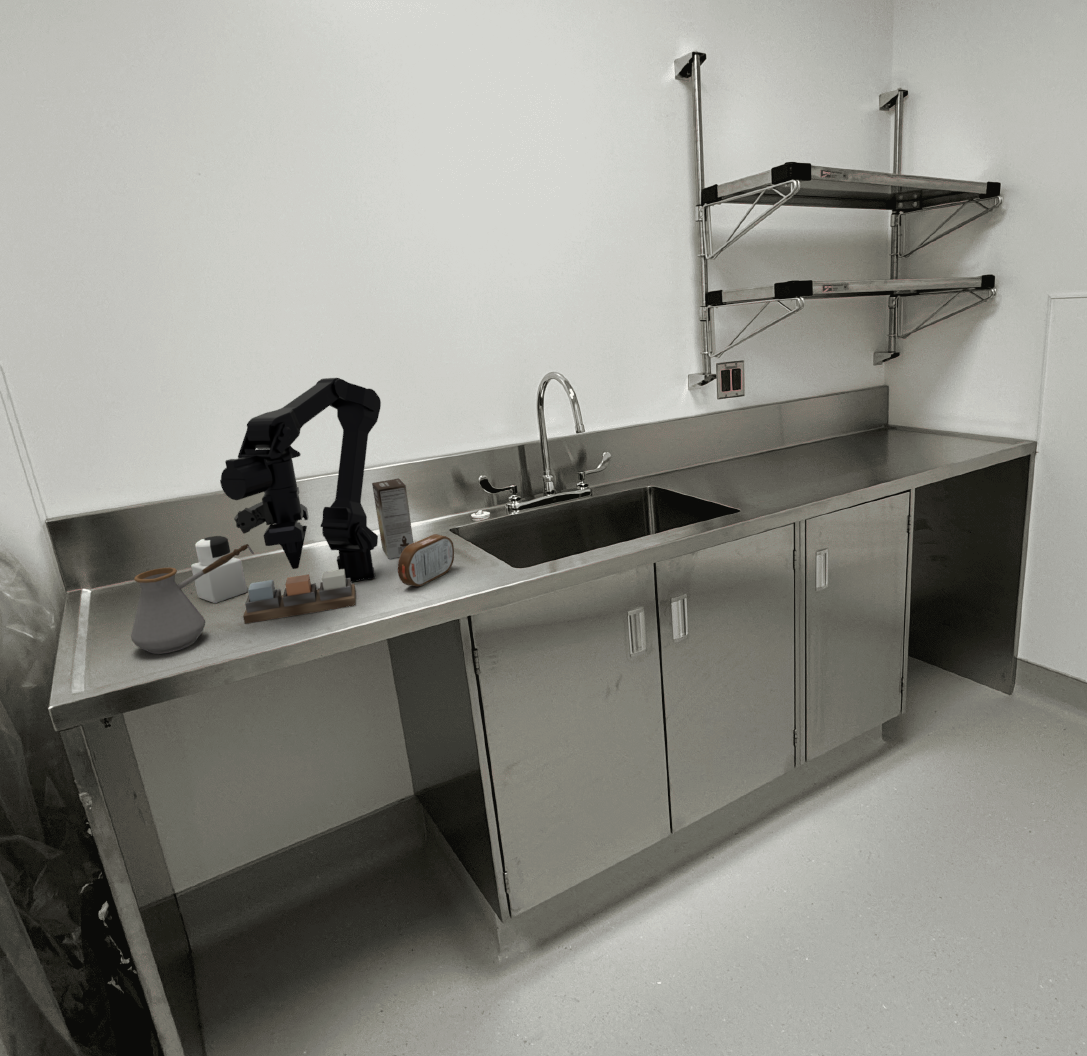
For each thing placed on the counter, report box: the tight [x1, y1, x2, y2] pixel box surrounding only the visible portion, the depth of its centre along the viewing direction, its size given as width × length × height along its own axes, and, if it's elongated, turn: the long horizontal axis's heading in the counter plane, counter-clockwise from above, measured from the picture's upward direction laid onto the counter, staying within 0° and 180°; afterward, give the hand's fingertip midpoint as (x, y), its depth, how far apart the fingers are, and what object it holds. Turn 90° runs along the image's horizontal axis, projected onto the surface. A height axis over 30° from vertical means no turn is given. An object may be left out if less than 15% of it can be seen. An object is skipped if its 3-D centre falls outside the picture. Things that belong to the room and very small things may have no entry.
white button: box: [321, 569, 347, 590], centre depth 138 cm, size 4×4×3 cm
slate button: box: [247, 579, 276, 602], centre depth 136 cm, size 4×4×3 cm
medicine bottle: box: [190, 535, 248, 604], centre depth 147 cm, size 7×7×12 cm
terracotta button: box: [284, 573, 312, 596], centre depth 137 cm, size 4×4×3 cm
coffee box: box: [371, 478, 415, 560], centre depth 165 cm, size 9×6×16 cm
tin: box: [397, 533, 455, 587], centre depth 146 cm, size 15×3×8 cm, turn 149°
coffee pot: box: [130, 543, 255, 655], centre depth 126 cm, size 21×12×15 cm, turn 115°
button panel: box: [242, 578, 357, 625], centre depth 138 cm, size 20×8×3 cm, turn 104°
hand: (295, 568), depth 136 cm, fingers closed
